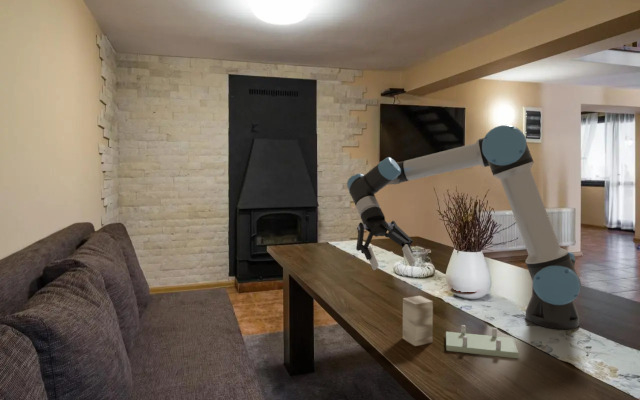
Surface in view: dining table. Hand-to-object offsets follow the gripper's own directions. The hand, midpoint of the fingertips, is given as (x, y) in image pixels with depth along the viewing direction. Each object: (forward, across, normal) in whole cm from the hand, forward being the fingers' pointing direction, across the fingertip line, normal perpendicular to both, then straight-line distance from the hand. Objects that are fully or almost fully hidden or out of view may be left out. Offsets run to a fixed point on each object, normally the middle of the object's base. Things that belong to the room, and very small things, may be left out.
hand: (394, 265), depth 129 cm
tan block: (+22, 0, -6) cm, 23 cm away
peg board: (+29, -14, +2) cm, 32 cm away
